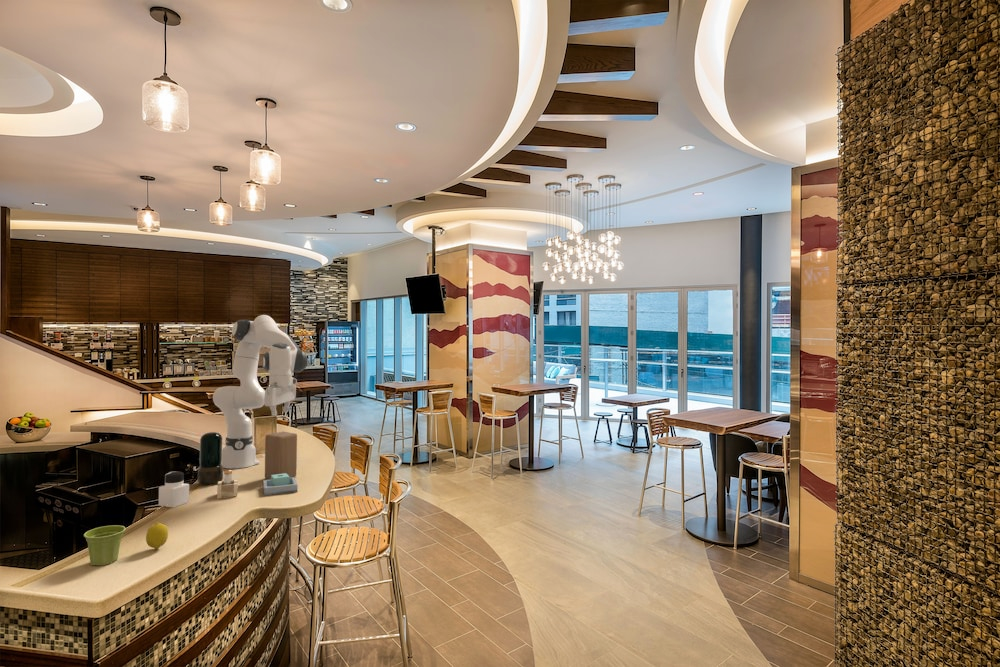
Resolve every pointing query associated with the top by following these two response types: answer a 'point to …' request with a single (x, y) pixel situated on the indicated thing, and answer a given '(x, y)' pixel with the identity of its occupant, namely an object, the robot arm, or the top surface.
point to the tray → (279, 487)
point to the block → (280, 454)
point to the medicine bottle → (174, 490)
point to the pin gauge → (227, 476)
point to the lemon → (157, 535)
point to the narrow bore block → (279, 479)
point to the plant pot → (104, 544)
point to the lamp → (210, 459)
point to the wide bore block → (227, 489)
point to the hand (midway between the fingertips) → (280, 413)
